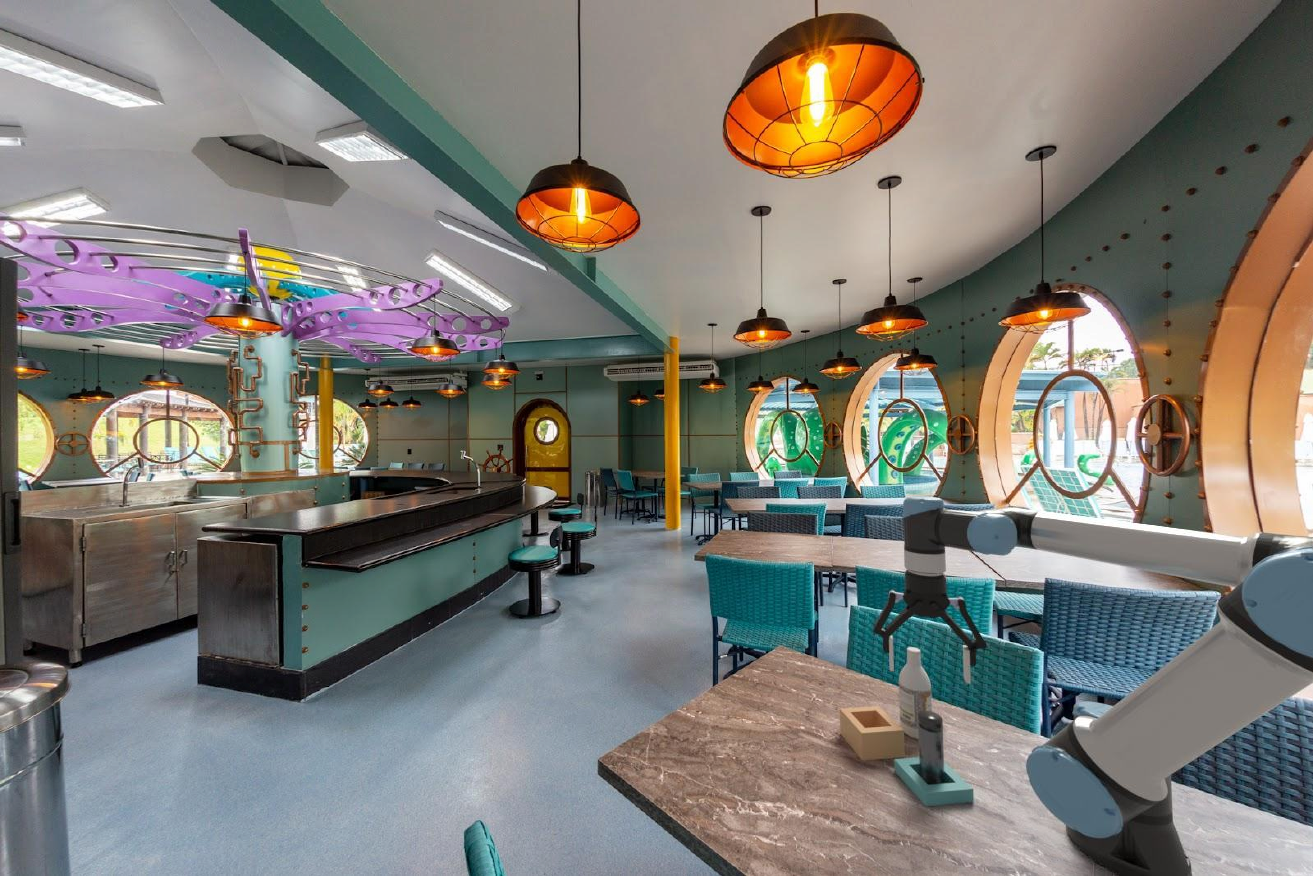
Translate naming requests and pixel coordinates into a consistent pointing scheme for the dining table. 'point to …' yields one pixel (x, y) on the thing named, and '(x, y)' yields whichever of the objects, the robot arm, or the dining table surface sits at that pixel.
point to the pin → (931, 747)
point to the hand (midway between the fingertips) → (928, 674)
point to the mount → (936, 793)
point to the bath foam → (913, 692)
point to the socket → (872, 733)
